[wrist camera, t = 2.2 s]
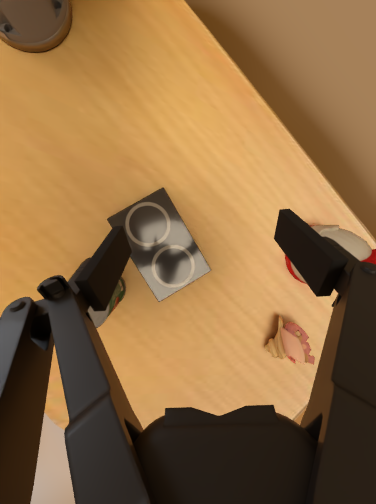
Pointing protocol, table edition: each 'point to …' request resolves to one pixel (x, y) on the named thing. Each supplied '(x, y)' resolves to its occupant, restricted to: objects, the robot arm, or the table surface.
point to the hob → (161, 244)
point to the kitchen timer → (345, 239)
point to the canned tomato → (109, 305)
